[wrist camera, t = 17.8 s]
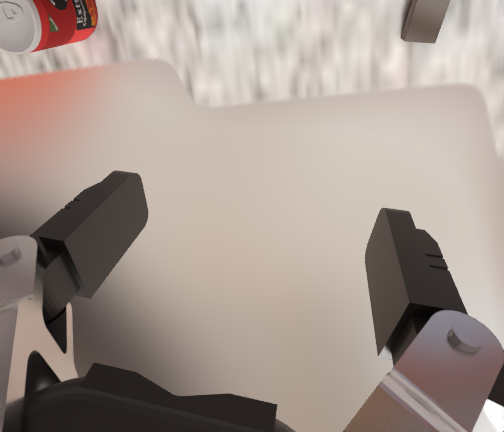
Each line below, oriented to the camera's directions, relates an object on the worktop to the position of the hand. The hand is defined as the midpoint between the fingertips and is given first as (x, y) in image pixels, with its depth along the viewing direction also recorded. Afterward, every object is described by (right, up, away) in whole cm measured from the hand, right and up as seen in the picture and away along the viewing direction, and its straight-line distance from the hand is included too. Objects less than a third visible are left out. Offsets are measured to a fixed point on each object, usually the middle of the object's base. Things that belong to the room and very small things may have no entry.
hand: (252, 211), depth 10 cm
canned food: (-23, +27, +29) cm, 46 cm away
